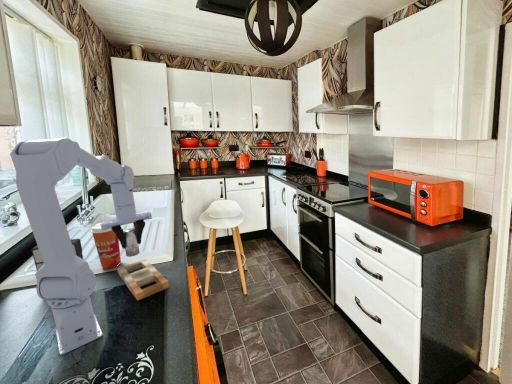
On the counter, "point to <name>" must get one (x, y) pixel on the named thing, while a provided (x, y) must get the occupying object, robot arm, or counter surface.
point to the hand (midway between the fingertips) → (131, 245)
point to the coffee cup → (106, 246)
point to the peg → (131, 242)
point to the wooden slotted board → (142, 279)
